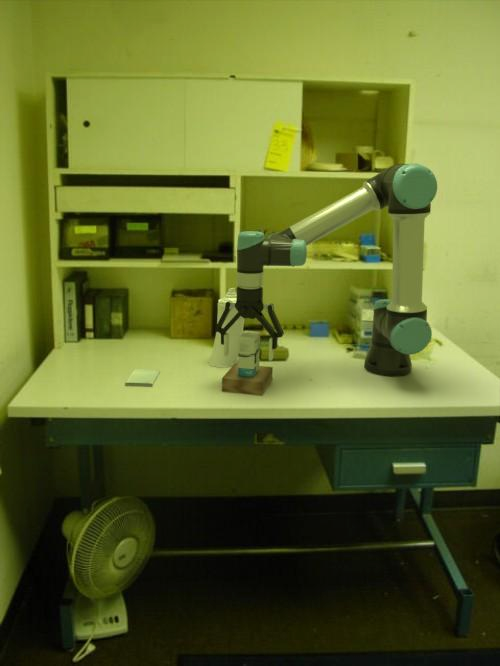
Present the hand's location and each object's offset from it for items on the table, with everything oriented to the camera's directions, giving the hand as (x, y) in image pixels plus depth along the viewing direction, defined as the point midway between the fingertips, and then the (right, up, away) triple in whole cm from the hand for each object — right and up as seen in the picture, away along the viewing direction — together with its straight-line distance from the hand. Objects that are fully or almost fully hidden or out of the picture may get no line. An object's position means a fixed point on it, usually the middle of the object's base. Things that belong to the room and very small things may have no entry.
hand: (248, 357), depth 181 cm
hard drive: (-32, -8, +6) cm, 33 cm away
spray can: (-7, -3, +23) cm, 24 cm away
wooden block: (0, -8, +2) cm, 9 cm away
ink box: (0, -5, +1) cm, 5 cm away
